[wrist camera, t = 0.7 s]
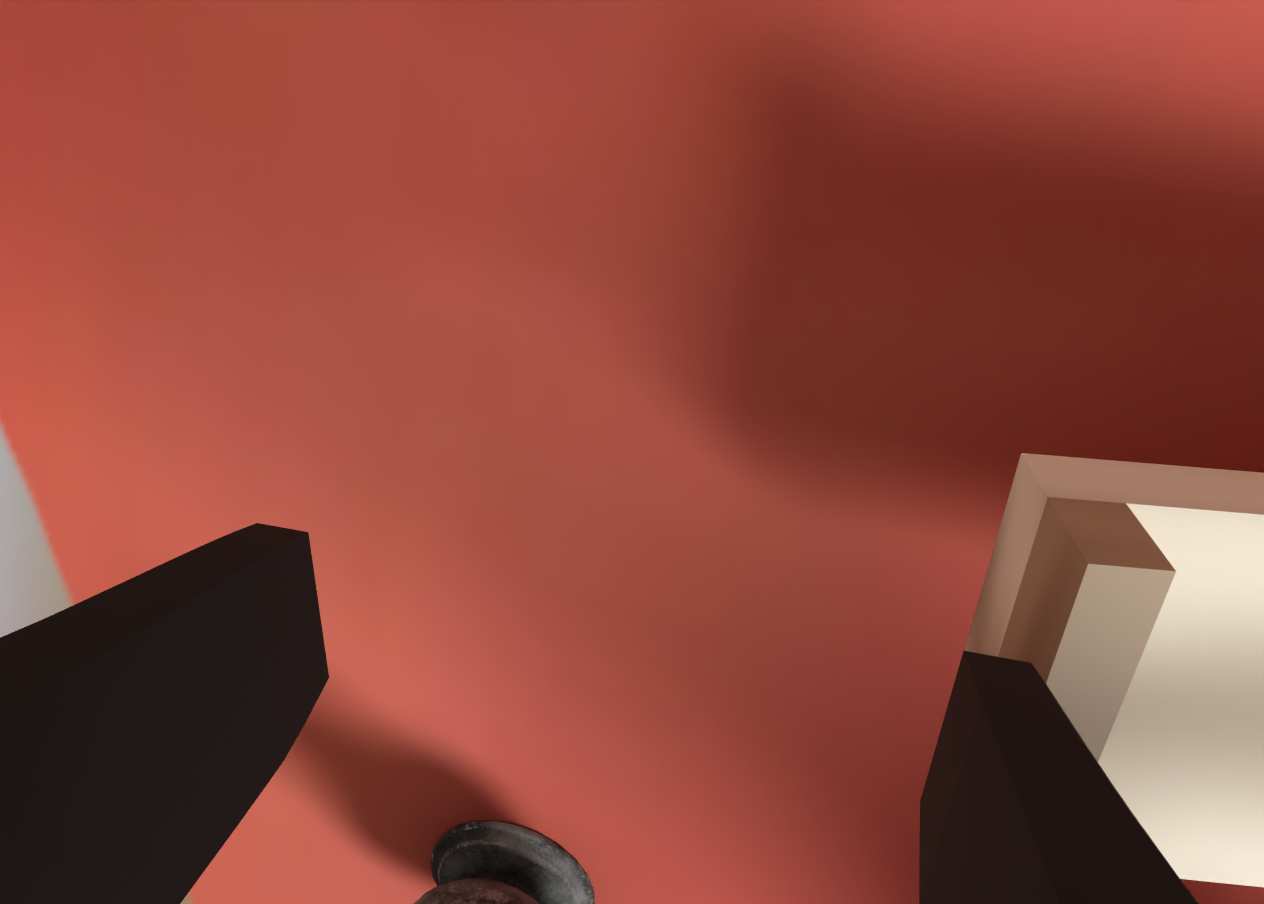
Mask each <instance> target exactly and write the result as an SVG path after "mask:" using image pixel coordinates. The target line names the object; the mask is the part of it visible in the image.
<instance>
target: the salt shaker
mask: <svg viewBox="0 0 1264 904" xmlns="http://www.w3.org/2000/svg"><path fill="white" fill-rule="evenodd" d="M431 868H432V874H433V878H434V880H435V882H436V884H437V887H435V888H433V889H432V890H430V891H428V892H426V893H425V894H424V895H423V896H422V897H421V898H420V899H419V900H417V901H416V902H415V903H414V904H594V890H593V887H592V885H591V882H590V880H589V877H588V875H587V874H586V872H585V871H584V870H583V868H582V867H581V866H580V864H579V863H578V862H577V860H576V859H575V858H573V857H572V856H571V855H570V854H569V853H568V852H567V851H565V850H564V849H563V848H562V847H561V846H560V845H558V844H556V843H555V842H553V841H551V840H550V839H548V838H546V837H545V836H543V835H541V834H539V833H537V832H534V831H531V830H529V829H526V828H524V827H521V826H518V825H513V824H508V823H503V822H498V821H474V822H469V823H465V824H461V825H457V826H456V827H454V828H452V829H451V830H449V831H447V832H446V833H444V834H443V835H442V837H441V838H440V839H439V841H438V842H437V843H436V844H435V846H434V849H433V853H432V857H431Z"/></svg>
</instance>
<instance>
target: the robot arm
mask: <svg viewBox="0 0 1264 904" xmlns="http://www.w3.org/2000/svg"><path fill="white" fill-rule="evenodd" d="M328 678H329V674H328V667H327V660H326V653H325V646H324V639H323V632H322V625H321V618H320V611H319V604H318V597H317V590H316V583H315V576H314V569H313V562H312V555H311V548H310V541H309V535H308V532H304V531H298V530H292V529H287V528H281V527H276V526H270V525H265V524H259V523H256V524H254V525H251V526H248V527H246V528H243V529H241V530H238V531H235V532H233V533H231V534H228V535H226V536H223V537H221V538H219V539H216V540H214V541H212V542H210V543H207V544H205V545H203V546H201V547H198V548H196V549H194V550H192V551H190V552H187V553H185V554H183V555H181V556H179V557H177V558H174V559H172V560H170V561H168V562H166V563H164V564H162V565H159V566H157V567H155V568H153V569H151V570H149V571H147V572H144V573H142V574H140V575H138V576H136V577H134V578H132V579H129V580H127V581H125V582H123V583H121V584H119V585H117V586H114V587H112V588H110V589H108V590H106V591H104V592H101V593H99V594H97V595H95V596H93V597H91V598H88V599H86V600H84V601H82V602H80V603H78V604H76V605H73V606H71V607H69V608H67V609H65V610H63V611H60V612H58V613H56V614H54V615H52V616H50V617H48V618H45V619H43V620H41V621H38V622H36V623H34V624H31V625H29V626H27V627H24V628H22V629H20V630H17V631H15V632H13V633H10V634H8V635H6V636H3V637H1V638H0V904H180V903H181V902H182V900H183V899H184V898H185V896H186V895H187V894H188V892H189V891H190V890H191V888H192V887H193V885H194V884H195V883H196V881H197V880H198V879H199V877H200V876H201V874H202V873H203V872H204V870H205V869H206V868H207V866H208V865H209V864H210V862H211V861H212V859H213V858H214V857H215V855H216V854H217V853H218V851H219V850H220V849H221V847H222V846H223V844H224V843H225V842H226V840H227V839H228V838H229V836H230V835H231V834H232V832H233V831H234V829H235V828H236V827H237V825H238V824H239V823H240V821H241V820H242V818H243V817H244V816H245V814H246V813H247V811H248V810H249V809H250V807H251V806H252V804H253V803H254V802H255V800H256V799H257V798H258V796H259V795H260V793H261V792H262V791H263V789H264V788H265V786H266V785H267V784H268V782H269V781H270V779H271V778H272V777H273V775H274V774H275V772H276V771H277V769H278V768H279V767H280V765H281V764H282V762H283V761H284V759H285V758H286V756H287V754H288V752H289V751H290V749H291V747H292V745H293V743H294V742H295V740H296V738H297V736H298V735H299V733H300V731H301V729H302V728H303V726H304V724H305V722H306V720H307V719H308V717H309V715H310V713H311V711H312V709H313V707H314V705H315V703H316V701H317V699H318V698H319V696H320V694H321V692H322V690H323V688H324V686H325V684H326V682H327V680H328ZM920 904H1199V903H1198V902H1197V901H1196V899H1195V898H1194V897H1193V895H1192V894H1191V893H1190V891H1189V890H1188V889H1187V888H1186V886H1185V885H1184V884H1183V882H1182V881H1181V879H1180V878H1179V877H1178V875H1177V874H1176V873H1175V871H1174V870H1173V868H1172V867H1171V866H1170V864H1169V863H1168V861H1167V860H1166V859H1165V857H1164V856H1163V855H1162V853H1161V852H1160V850H1159V849H1158V848H1157V846H1156V845H1155V843H1154V842H1153V841H1152V839H1151V838H1150V837H1149V835H1148V834H1147V832H1146V831H1145V830H1144V828H1143V827H1142V825H1141V824H1140V823H1139V821H1138V820H1137V818H1136V817H1135V816H1134V814H1133V813H1132V811H1131V810H1130V809H1129V807H1128V806H1127V804H1126V803H1125V801H1124V800H1123V798H1122V797H1121V796H1120V794H1119V793H1118V791H1117V790H1116V788H1115V787H1114V785H1113V784H1112V783H1111V781H1110V780H1109V778H1108V777H1107V775H1106V774H1105V772H1104V771H1103V769H1102V768H1101V766H1100V765H1099V763H1098V762H1097V760H1096V759H1095V757H1094V756H1093V754H1092V753H1091V751H1090V750H1089V748H1088V747H1087V745H1086V744H1085V742H1084V741H1083V739H1082V738H1081V736H1080V735H1079V733H1078V732H1077V730H1076V729H1075V727H1074V726H1073V724H1072V723H1071V721H1070V719H1069V718H1068V716H1067V715H1066V713H1065V712H1064V710H1063V709H1062V707H1061V706H1060V704H1059V703H1058V701H1057V700H1056V698H1055V696H1054V695H1053V693H1052V692H1051V690H1050V689H1049V687H1048V686H1047V684H1046V683H1045V681H1044V680H1043V678H1042V677H1041V675H1040V674H1039V672H1038V671H1037V670H1036V668H1035V667H1034V666H1033V664H1032V663H1030V662H1024V661H1019V660H1013V659H1008V658H1002V657H997V656H991V655H985V654H980V653H974V652H969V651H964V652H963V655H962V659H961V662H960V666H959V669H958V673H957V676H956V680H955V683H954V686H953V690H952V693H951V697H950V700H949V704H948V707H947V711H946V714H945V718H944V721H943V725H942V728H941V732H940V735H939V738H938V742H937V745H936V749H935V752H934V756H933V759H932V763H931V766H930V770H929V773H928V777H927V780H926V784H925V787H924V791H923V794H922V797H921V801H920Z"/></svg>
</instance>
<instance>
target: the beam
mask: <svg viewBox="0 0 1264 904" xmlns="http://www.w3.org/2000/svg"><path fill="white" fill-rule="evenodd" d="M964 651H969V652H974V653H980V654H985V655H991V656H997V657H1002V658H1008V659H1013V660H1019V661H1024V662H1030V663H1032V664H1033V666H1034V667H1035V668H1036V670H1037V671H1038V672H1039V674H1040V675H1041V677H1042V678H1043V680H1044V681H1045V683H1046V684H1047V686H1048V687H1049V689H1050V690H1051V692H1052V693H1053V695H1054V696H1055V698H1056V700H1057V701H1058V703H1059V704H1060V706H1061V707H1062V709H1063V710H1064V712H1065V713H1066V715H1067V716H1068V718H1069V719H1070V721H1071V723H1072V724H1073V726H1074V727H1075V729H1076V730H1077V732H1078V733H1079V735H1080V736H1081V738H1082V739H1083V741H1084V742H1085V744H1086V745H1087V747H1088V748H1089V750H1090V751H1091V753H1092V754H1093V756H1094V757H1095V759H1096V760H1097V762H1098V763H1099V765H1100V766H1101V768H1102V769H1103V771H1104V772H1105V774H1106V775H1107V777H1108V778H1109V780H1110V781H1111V783H1112V784H1113V785H1114V787H1115V788H1116V790H1117V791H1118V793H1119V794H1120V796H1121V797H1122V798H1123V800H1124V801H1125V803H1126V804H1127V806H1128V807H1129V809H1130V810H1131V811H1132V813H1133V814H1134V816H1135V817H1136V818H1137V820H1138V821H1139V823H1140V824H1141V825H1142V827H1143V828H1144V830H1145V831H1146V832H1147V834H1148V835H1149V837H1150V838H1151V839H1152V841H1153V842H1154V843H1155V845H1156V846H1157V848H1158V849H1159V850H1160V852H1161V853H1162V855H1163V856H1164V857H1165V859H1166V860H1167V861H1168V863H1169V864H1170V866H1171V867H1172V868H1173V870H1174V871H1175V873H1176V874H1177V875H1178V877H1179V878H1180V879H1187V880H1197V881H1206V882H1216V883H1226V884H1236V885H1246V886H1256V887H1264V473H1262V472H1249V471H1237V470H1225V469H1212V468H1200V467H1188V466H1175V465H1163V464H1151V463H1138V462H1126V461H1114V460H1102V459H1089V458H1077V457H1065V456H1052V455H1040V454H1028V453H1021V456H1020V459H1019V462H1018V466H1017V469H1016V473H1015V476H1014V480H1013V483H1012V487H1011V490H1010V494H1009V497H1008V501H1007V504H1006V508H1005V511H1004V514H1003V518H1002V521H1001V525H1000V528H999V532H998V535H997V539H996V542H995V546H994V549H993V553H992V556H991V559H990V563H989V566H988V570H987V573H986V577H985V580H984V584H983V587H982V591H981V594H980V598H979V601H978V605H977V608H976V611H975V615H974V618H973V622H972V625H971V629H970V632H969V636H968V639H967V643H966V646H965V650H964Z"/></svg>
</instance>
